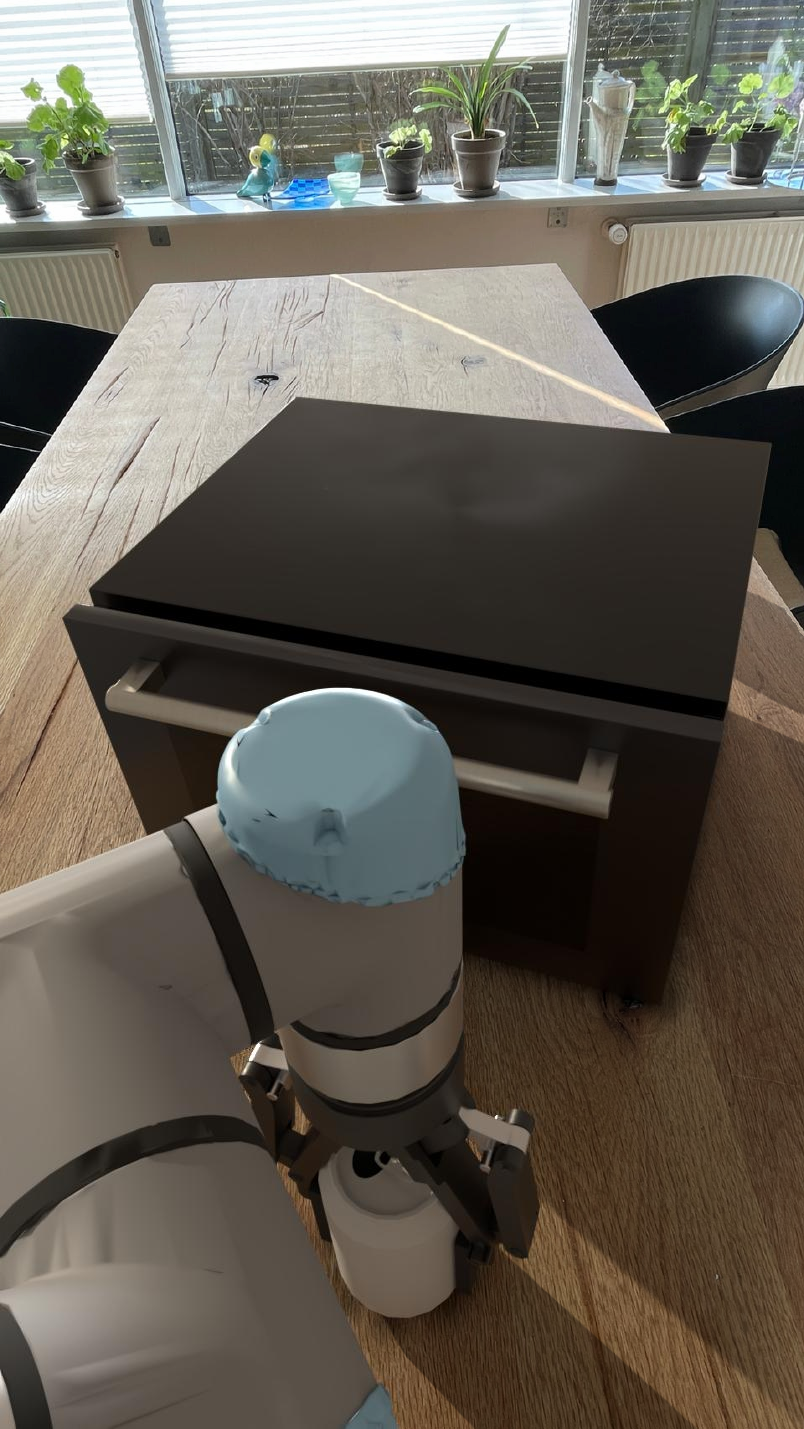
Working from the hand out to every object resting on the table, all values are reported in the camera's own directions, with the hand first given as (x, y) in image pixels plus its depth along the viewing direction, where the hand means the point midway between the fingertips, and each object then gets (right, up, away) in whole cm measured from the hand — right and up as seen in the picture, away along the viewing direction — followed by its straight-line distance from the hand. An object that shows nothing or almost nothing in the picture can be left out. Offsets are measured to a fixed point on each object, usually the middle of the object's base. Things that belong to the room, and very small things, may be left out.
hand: (401, 1241), depth 54 cm
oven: (+5, +25, +30) cm, 39 cm away
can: (0, -1, +1) cm, 1 cm away
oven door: (-1, +13, +17) cm, 21 cm away
